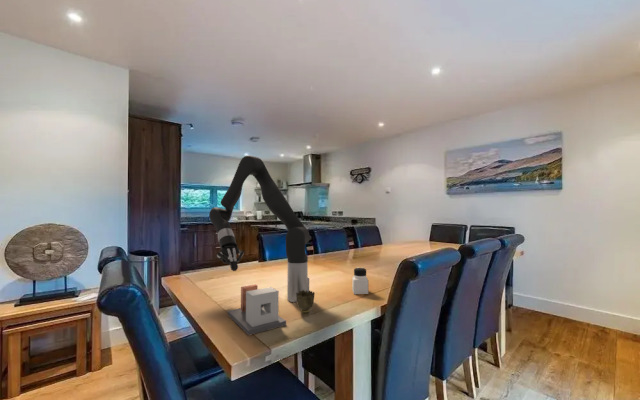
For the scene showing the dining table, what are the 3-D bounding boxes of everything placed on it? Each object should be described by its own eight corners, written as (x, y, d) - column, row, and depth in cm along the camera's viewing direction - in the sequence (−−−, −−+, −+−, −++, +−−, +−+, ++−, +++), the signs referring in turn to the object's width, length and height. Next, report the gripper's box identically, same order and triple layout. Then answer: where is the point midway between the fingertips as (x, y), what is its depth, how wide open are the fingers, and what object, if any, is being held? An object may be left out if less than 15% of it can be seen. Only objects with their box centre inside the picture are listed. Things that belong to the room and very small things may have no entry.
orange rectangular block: (255, 306, 112) (255, 284, 112) (267, 315, 103) (267, 291, 103) (240, 310, 109) (241, 286, 109) (252, 319, 99) (252, 294, 100)
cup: (307, 317, 106) (307, 296, 107) (292, 313, 110) (292, 293, 110) (318, 311, 113) (318, 291, 113) (303, 308, 116) (303, 288, 117)
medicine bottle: (368, 294, 135) (368, 269, 135) (353, 294, 135) (353, 269, 136) (366, 290, 142) (366, 266, 143) (352, 290, 142) (352, 266, 143)
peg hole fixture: (260, 307, 117) (261, 278, 118) (286, 325, 100) (286, 291, 100) (227, 314, 109) (227, 283, 110) (248, 335, 91) (248, 298, 92)
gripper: (214, 235, 128) (221, 266, 118) (242, 234, 136) (251, 263, 125) (211, 245, 132) (218, 276, 122) (238, 243, 140) (247, 272, 130)
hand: (235, 269), depth 124 cm, fingers closed
